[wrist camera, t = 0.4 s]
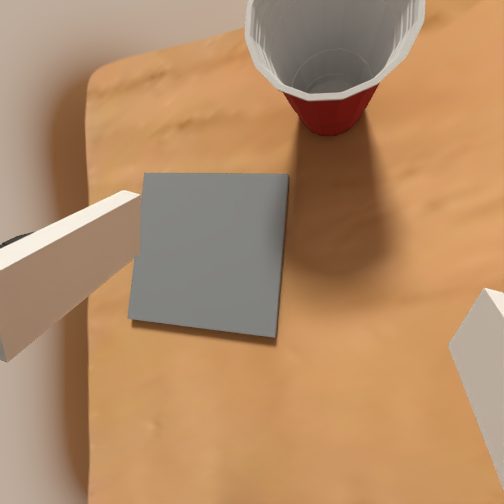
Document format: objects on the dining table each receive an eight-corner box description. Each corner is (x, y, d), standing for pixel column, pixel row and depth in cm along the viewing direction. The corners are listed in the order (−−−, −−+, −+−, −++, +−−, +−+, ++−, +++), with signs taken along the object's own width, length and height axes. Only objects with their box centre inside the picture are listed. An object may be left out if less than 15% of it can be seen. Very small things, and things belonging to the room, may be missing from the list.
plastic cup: (281, 175, 32) (252, 112, 20) (268, 72, 33) (234, -42, 22) (402, 152, 30) (446, 66, 18) (382, 42, 31) (411, -104, 19)
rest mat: (276, 336, 31) (275, 337, 30) (132, 318, 34) (127, 318, 33) (289, 176, 32) (288, 173, 31) (148, 175, 36) (144, 172, 35)
